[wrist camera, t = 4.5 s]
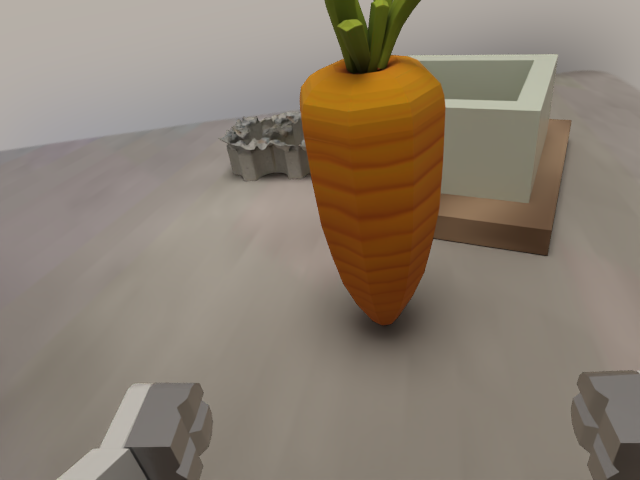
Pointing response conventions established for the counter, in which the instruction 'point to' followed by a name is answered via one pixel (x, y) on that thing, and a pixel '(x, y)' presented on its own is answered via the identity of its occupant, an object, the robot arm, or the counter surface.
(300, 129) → the egg carton
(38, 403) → the counter surface
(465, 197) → the walnut board
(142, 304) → the counter surface
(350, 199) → the carrot
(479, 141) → the square open planter
